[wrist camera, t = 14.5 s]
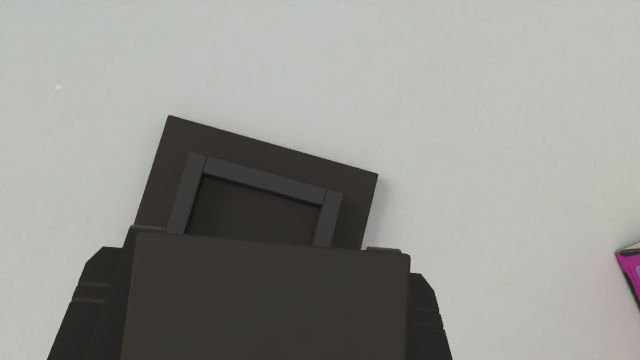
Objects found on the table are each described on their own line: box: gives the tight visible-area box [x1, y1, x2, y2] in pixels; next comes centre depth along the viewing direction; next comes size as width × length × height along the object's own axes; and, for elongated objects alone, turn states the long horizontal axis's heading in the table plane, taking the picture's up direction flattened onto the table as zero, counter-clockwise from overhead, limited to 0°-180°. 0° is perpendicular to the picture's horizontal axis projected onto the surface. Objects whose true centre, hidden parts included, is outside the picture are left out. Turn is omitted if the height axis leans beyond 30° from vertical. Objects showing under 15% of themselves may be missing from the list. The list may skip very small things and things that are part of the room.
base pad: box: [134, 115, 378, 250], centre depth 33 cm, size 13×13×2 cm
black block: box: [120, 231, 411, 360], centre depth 13 cm, size 4×4×8 cm
